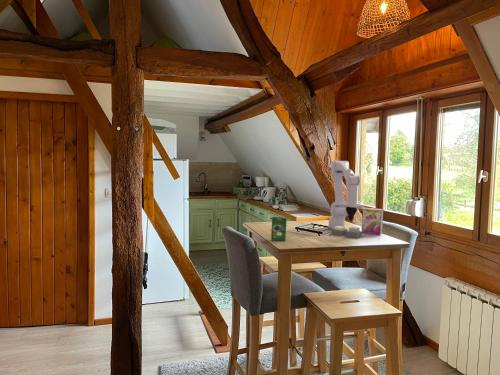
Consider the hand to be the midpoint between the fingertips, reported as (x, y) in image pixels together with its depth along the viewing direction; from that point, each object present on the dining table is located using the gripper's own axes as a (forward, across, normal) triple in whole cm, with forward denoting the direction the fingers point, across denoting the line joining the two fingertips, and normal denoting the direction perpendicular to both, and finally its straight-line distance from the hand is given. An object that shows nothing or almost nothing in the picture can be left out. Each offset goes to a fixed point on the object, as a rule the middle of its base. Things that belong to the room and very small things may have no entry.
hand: (351, 220), depth 224 cm
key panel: (+10, -2, 0) cm, 11 cm away
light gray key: (+7, +2, 0) cm, 7 cm away
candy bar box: (+11, +6, +16) cm, 20 cm away
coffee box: (+11, -27, -32) cm, 44 cm away
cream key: (+8, -7, 0) cm, 10 cm away
